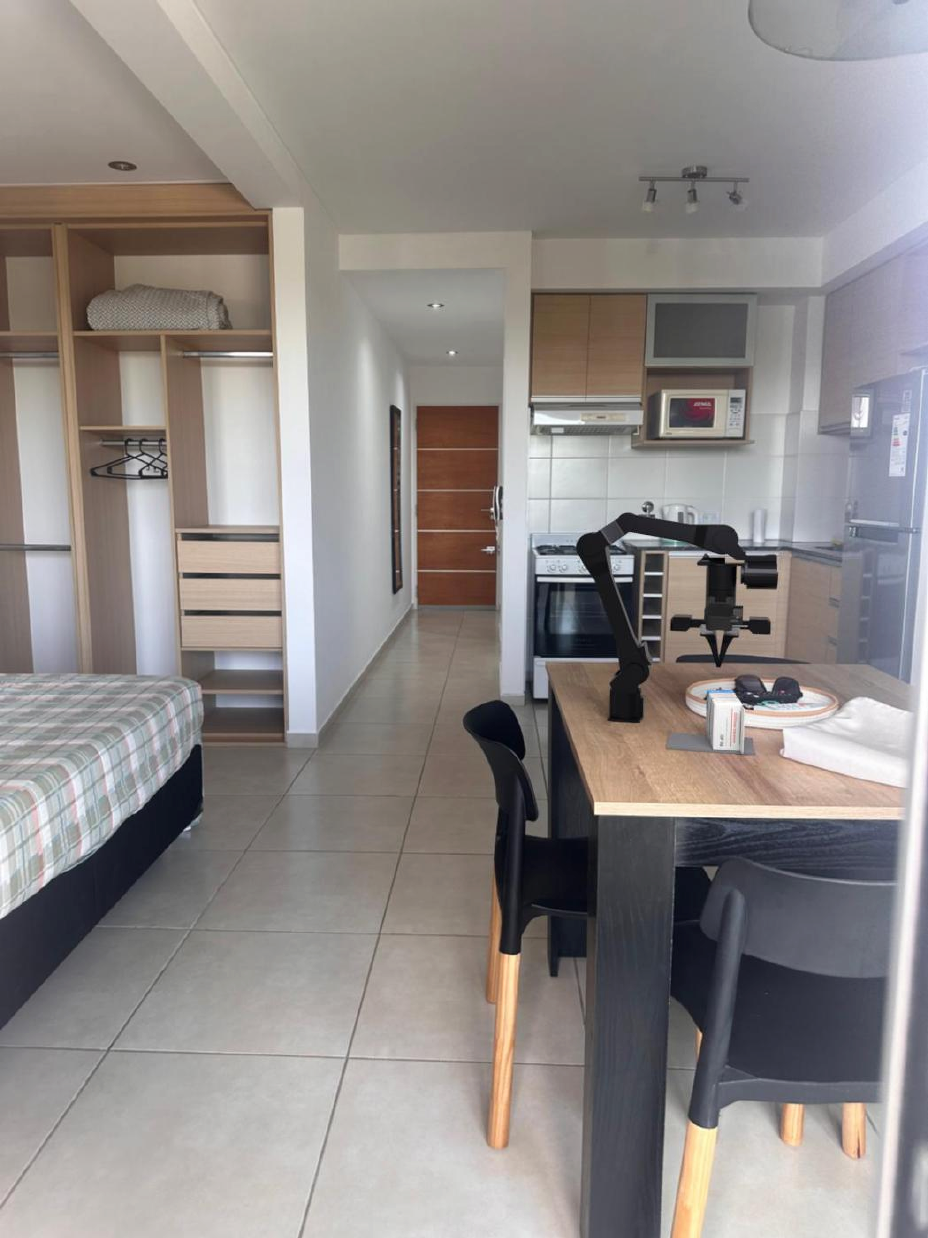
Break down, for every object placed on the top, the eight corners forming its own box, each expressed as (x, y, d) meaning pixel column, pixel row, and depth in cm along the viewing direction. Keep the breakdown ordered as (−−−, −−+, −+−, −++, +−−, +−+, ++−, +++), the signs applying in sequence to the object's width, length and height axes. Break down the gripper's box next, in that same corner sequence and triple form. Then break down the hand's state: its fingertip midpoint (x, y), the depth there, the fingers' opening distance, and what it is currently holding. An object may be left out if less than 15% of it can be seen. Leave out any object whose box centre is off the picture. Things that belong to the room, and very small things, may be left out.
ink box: (706, 688, 157) (716, 706, 143) (733, 689, 157) (745, 707, 142) (705, 732, 159) (714, 755, 144) (731, 733, 158) (744, 756, 143)
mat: (666, 749, 149) (666, 746, 149) (669, 734, 159) (669, 732, 159) (754, 755, 145) (754, 753, 145) (752, 740, 155) (752, 737, 154)
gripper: (668, 591, 158) (666, 672, 160) (772, 594, 152) (769, 677, 154) (673, 586, 168) (671, 662, 171) (771, 588, 163) (768, 666, 165)
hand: (718, 667), depth 165 cm, fingers closed
